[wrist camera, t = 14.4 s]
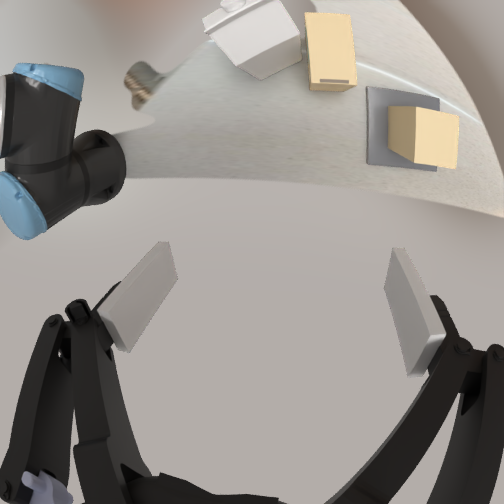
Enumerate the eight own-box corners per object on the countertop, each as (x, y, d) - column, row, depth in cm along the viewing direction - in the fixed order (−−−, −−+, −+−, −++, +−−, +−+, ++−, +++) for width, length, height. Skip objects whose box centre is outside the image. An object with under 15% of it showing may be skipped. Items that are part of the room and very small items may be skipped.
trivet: (366, 163, 37) (368, 164, 36) (366, 87, 31) (367, 86, 30) (433, 170, 35) (436, 171, 34) (436, 98, 29) (439, 98, 28)
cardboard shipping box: (309, 90, 34) (311, 82, 24) (304, 36, 29) (304, 12, 20) (344, 91, 33) (357, 85, 23) (339, 37, 28) (350, 14, 19)
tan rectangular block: (387, 148, 34) (414, 162, 25) (388, 106, 31) (415, 106, 22) (422, 152, 33) (456, 169, 24) (423, 111, 30) (459, 116, 21)
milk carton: (302, 60, 31) (299, 21, 15) (260, 81, 34) (224, 60, 18) (277, 24, 29) (254, -31, 13) (236, 46, 32) (185, 7, 16)
